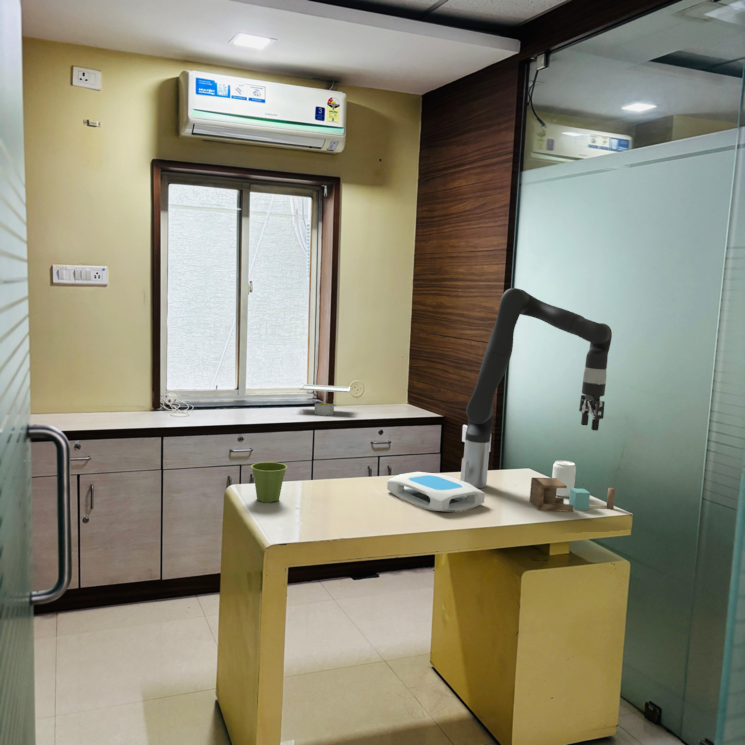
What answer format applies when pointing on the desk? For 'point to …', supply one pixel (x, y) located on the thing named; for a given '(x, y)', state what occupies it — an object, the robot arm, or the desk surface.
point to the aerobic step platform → (436, 491)
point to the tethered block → (581, 499)
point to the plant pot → (268, 480)
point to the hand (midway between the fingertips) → (589, 427)
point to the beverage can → (564, 476)
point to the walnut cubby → (547, 495)
